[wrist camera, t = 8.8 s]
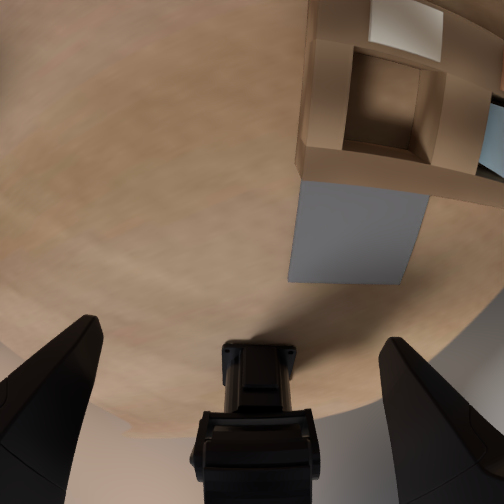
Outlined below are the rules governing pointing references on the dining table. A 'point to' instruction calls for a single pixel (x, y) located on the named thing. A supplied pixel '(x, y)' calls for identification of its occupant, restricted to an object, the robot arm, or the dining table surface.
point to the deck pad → (354, 234)
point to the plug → (494, 141)
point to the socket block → (427, 105)
